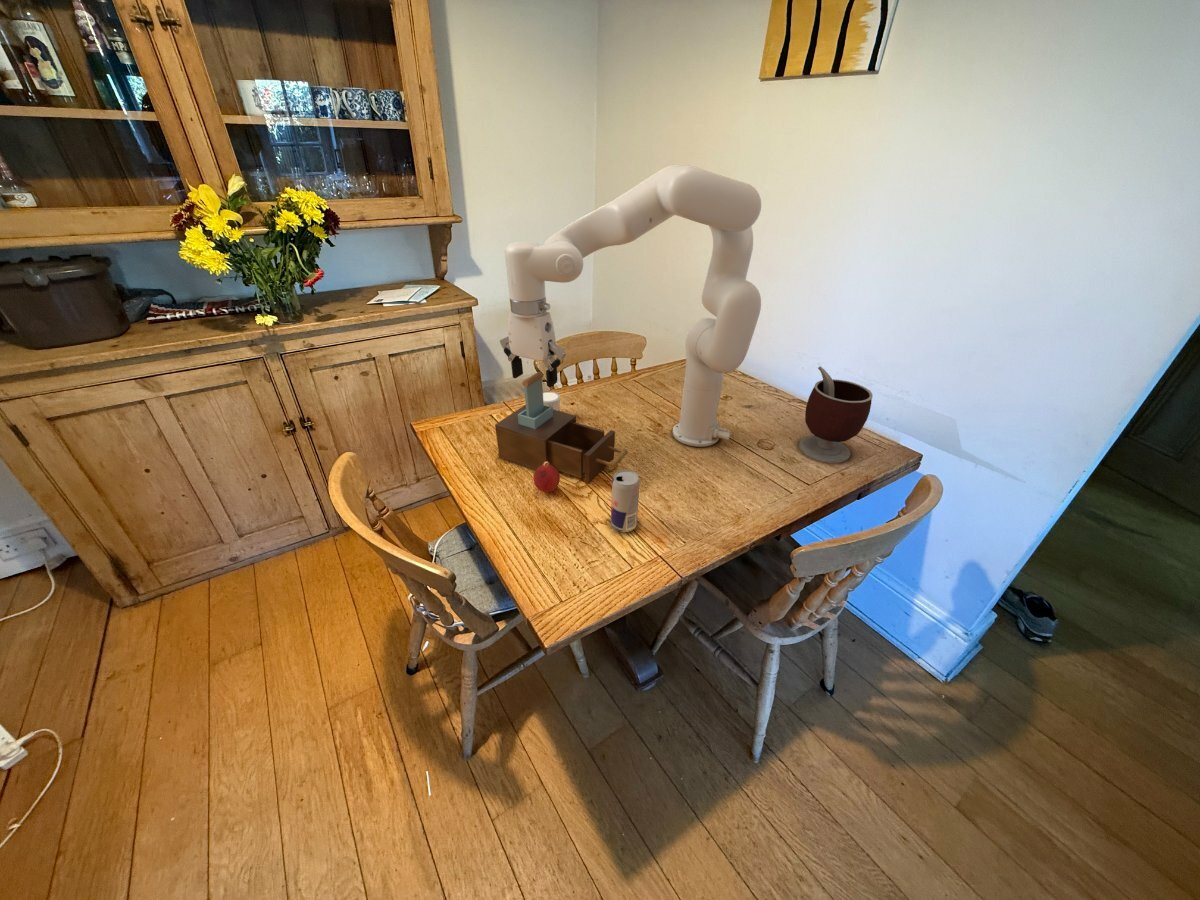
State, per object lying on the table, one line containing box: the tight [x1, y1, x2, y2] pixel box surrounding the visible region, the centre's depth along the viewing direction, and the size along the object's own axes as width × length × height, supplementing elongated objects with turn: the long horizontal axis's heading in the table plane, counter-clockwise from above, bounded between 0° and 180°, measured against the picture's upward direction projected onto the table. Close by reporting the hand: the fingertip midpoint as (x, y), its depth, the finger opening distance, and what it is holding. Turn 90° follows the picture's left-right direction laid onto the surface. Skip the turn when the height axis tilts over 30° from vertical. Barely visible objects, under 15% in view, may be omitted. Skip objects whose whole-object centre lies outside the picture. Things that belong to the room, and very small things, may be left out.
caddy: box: [518, 371, 553, 429], centre depth 109 cm, size 5×8×12 cm, turn 151°
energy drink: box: [610, 469, 641, 533], centre depth 92 cm, size 5×5×12 cm
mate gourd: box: [798, 365, 873, 464], centre depth 115 cm, size 16×14×20 cm
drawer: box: [547, 421, 629, 485], centre depth 109 cm, size 18×12×8 cm
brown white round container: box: [543, 391, 561, 411], centre depth 131 cm, size 7×7×7 cm
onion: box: [533, 461, 561, 493], centre depth 102 cm, size 6×6×8 cm
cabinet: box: [494, 404, 577, 471], centre depth 115 cm, size 15×14×10 cm
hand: (534, 380), depth 107 cm, fingers open, 9 cm apart
